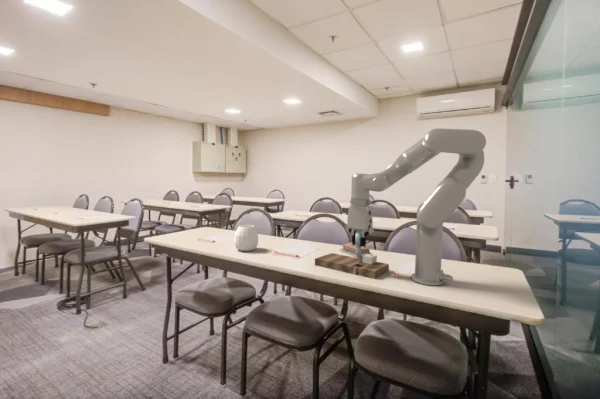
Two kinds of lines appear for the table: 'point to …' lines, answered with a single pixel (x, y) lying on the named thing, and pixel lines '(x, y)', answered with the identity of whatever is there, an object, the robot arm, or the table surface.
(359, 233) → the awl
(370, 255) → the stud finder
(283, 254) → the table surface
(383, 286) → the table surface
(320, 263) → the subfloor panel
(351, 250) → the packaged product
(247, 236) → the white faceted vase
